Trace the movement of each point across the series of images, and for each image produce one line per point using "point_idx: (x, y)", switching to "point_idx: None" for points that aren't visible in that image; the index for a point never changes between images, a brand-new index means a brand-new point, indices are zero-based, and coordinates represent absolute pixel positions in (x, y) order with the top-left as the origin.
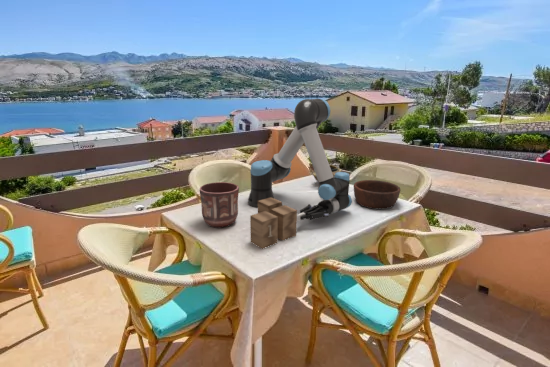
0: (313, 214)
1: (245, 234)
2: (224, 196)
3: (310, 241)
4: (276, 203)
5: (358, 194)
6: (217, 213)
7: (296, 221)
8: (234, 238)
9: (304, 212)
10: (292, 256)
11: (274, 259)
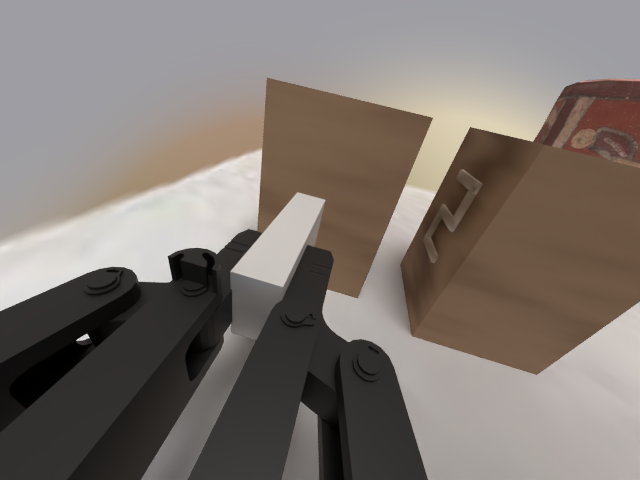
0: (32, 298)
1: (416, 223)
2: (559, 102)
3: (151, 243)
4: (502, 135)
5: None
6: None
7: (261, 182)
8: (409, 206)
9: (266, 324)
10: (214, 177)
11: (257, 170)
